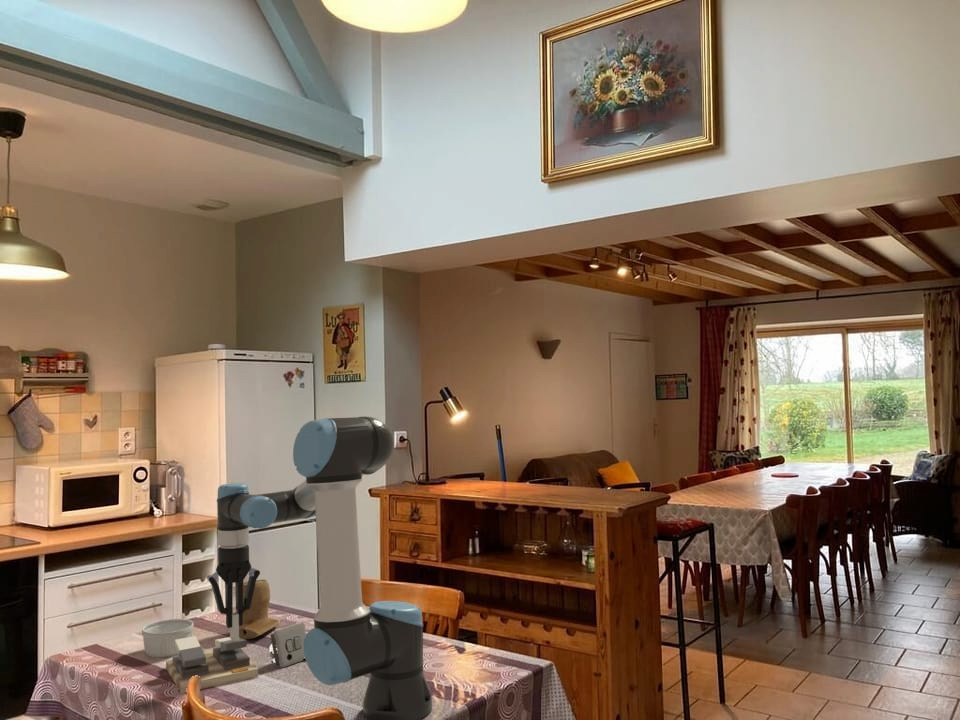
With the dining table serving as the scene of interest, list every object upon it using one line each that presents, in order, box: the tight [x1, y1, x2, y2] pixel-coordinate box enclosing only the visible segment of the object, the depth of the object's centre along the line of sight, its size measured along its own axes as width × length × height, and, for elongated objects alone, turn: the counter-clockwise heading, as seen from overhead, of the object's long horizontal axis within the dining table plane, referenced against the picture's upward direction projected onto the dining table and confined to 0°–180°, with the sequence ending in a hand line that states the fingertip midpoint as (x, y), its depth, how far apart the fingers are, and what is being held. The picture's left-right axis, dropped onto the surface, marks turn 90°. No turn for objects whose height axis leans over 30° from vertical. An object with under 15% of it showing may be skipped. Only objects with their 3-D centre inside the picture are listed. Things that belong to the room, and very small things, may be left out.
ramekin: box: [141, 618, 195, 658], centre depth 214 cm, size 13×13×7 cm
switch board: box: [165, 647, 259, 694], centre depth 197 cm, size 20×18×4 cm
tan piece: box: [234, 578, 281, 640], centre depth 229 cm, size 15×12×15 cm
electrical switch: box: [270, 622, 307, 668], centre depth 204 cm, size 9×5×9 cm, turn 141°
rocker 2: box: [214, 636, 248, 652], centre depth 200 cm, size 12×5×2 cm, turn 32°
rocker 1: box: [175, 635, 206, 668], centre depth 194 cm, size 12×5×2 cm, turn 32°
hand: (234, 639), depth 196 cm, fingers closed
